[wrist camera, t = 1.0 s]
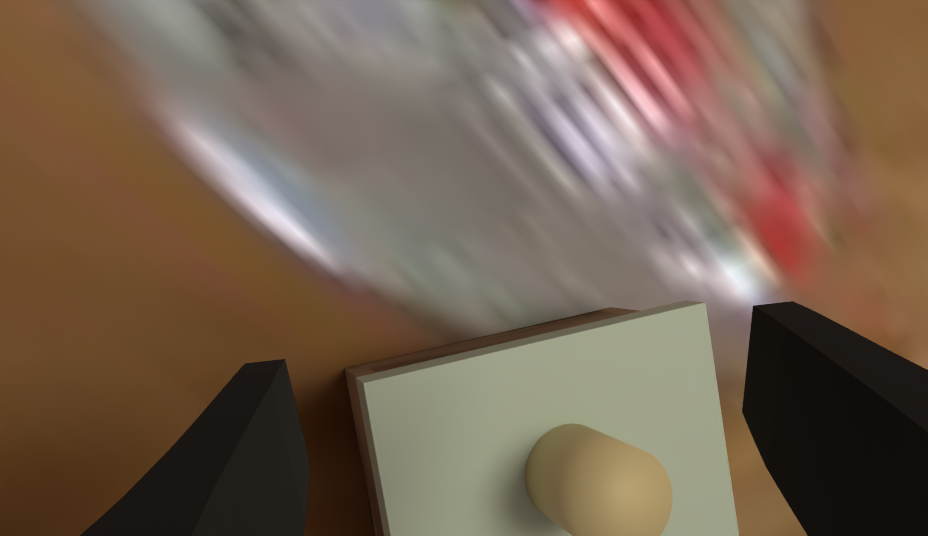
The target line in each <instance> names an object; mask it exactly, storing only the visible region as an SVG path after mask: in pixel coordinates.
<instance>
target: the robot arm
mask: <svg viewBox="0 0 928 536" xmlns="http://www.w3.org/2000/svg"><path fill="white" fill-rule="evenodd" d="M742 413H743V415H744V417H745V420H746V422H747V424H748V427H749V429H750V432H751V434H752V436H753V439H754V441H755V444H756V446H757V448H758V450H759V452H760V455H761V457H762V459H763V461H764V463H765V465H766V468H767V469H768V471H769V473H770V474H771V476H772V478H773V480H774V481H775V483H776V485H777V486H778V488H779V489H780V491H781V493H782V494H783V496H784V498H785V499H786V501H787V503H788V504H789V506H790V508H791V509H792V511H793V513H794V514H795V516H796V517H797V519H798V521H799V522H800V524H801V525H802V527H803V529H804V530H805V532H806V534H807V535H808V536H928V370H927V369H925V368H923V367H921V366H919V365H917V364H915V363H913V362H911V361H909V360H907V359H905V358H903V357H901V356H899V355H897V354H895V353H893V352H891V351H889V350H887V349H886V348H884V347H882V346H880V345H878V344H876V343H874V342H872V341H870V340H868V339H867V338H865V337H863V336H861V335H859V334H857V333H855V332H853V331H851V330H850V329H848V328H846V327H844V326H842V325H840V324H838V323H836V322H834V321H832V320H830V319H829V318H827V317H825V316H823V315H821V314H819V313H817V312H815V311H813V310H811V309H808V308H806V307H804V306H802V305H800V304H797V303H795V302H793V301H791V302H782V303H774V304H765V305H756V306H753V312H752V321H751V331H750V341H749V350H748V360H747V370H746V380H745V389H744V399H743V409H742ZM309 465H310V462H309V457H308V453H307V449H306V445H305V441H304V437H303V432H302V428H301V424H300V420H299V416H298V412H297V407H296V403H295V399H294V395H293V391H292V387H291V382H290V378H289V374H288V370H287V366H286V362H285V359H282V360H273V361H264V362H255V363H246V364H244V365H243V366H242V367H241V369H240V370H239V371H238V372H237V373H236V374H235V375H234V376H233V378H232V379H231V380H230V381H229V382H228V383H227V385H226V386H225V387H224V388H223V389H222V390H221V392H220V393H219V394H218V395H217V396H216V397H215V399H214V400H213V401H212V402H211V403H210V404H209V406H208V407H207V408H206V409H205V410H204V411H203V413H202V414H201V415H200V416H199V417H198V418H197V420H196V421H195V422H194V423H193V424H192V425H191V426H190V427H189V429H188V430H187V431H186V432H185V433H184V434H183V435H182V436H181V437H180V439H179V440H178V441H177V442H176V443H175V444H174V445H173V446H172V448H171V449H170V450H169V451H168V452H167V453H166V454H165V455H164V456H163V457H162V458H161V459H160V460H159V461H158V462H157V463H156V464H155V465H154V466H153V467H152V468H151V469H150V470H149V471H148V472H147V473H146V474H145V475H144V476H143V477H142V478H141V479H140V480H139V481H138V482H137V483H136V484H135V485H134V486H133V487H132V488H131V489H130V490H129V491H128V492H127V493H126V494H125V495H124V496H123V497H122V498H121V499H120V500H119V501H118V502H117V503H116V504H115V505H114V506H113V507H112V508H111V509H109V510H108V511H107V512H106V513H105V514H104V515H103V516H102V517H101V518H99V519H98V520H97V521H96V522H95V523H94V524H93V525H91V526H90V527H89V528H88V529H87V530H86V531H84V532H83V533H82V534H81V535H80V536H303V535H304V530H305V524H306V514H307V500H308V483H309Z"/></svg>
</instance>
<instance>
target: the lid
mask: <svg viewBox="0 0 928 536" xmlns="http://www.w3.org/2000/svg"><path fill="white" fill-rule="evenodd" d="M356 383H357V388H358V394H359V399H360V405H361V411H362V416H363V422H364V427H365V433H366V438H367V444H368V449H369V455H370V460H371V466H372V471H373V477H374V483H375V488H376V494H377V499H378V505H379V510H380V516H381V521H382V527H383V532H384V536H739V533H738V526H737V519H736V512H735V505H734V498H733V491H732V484H731V477H730V471H729V464H728V457H727V450H726V443H725V436H724V429H723V422H722V415H721V408H720V401H719V394H718V387H717V381H716V374H715V367H714V360H713V353H712V346H711V339H710V332H709V325H708V318H707V311H706V304H705V302H695V301H682V302H677V303H673V304H669V305H664V306H660V307H656V308H652V309H647V310H643V311H639V312H634V313H630V314H626V315H622V316H617V317H613V318H609V319H604V320H600V321H596V322H592V323H587V324H583V325H579V326H574V327H570V328H566V329H562V330H557V331H553V332H549V333H544V334H540V335H536V336H532V337H527V338H523V339H519V340H514V341H510V342H506V343H502V344H497V345H493V346H489V347H484V348H480V349H476V350H472V351H467V352H463V353H459V354H454V355H450V356H446V357H442V358H437V359H433V360H429V361H425V362H420V363H416V364H412V365H407V366H403V367H399V368H395V369H390V370H386V371H382V372H377V373H373V374H369V375H365V376H360V377H356Z"/></svg>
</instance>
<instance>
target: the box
mask: <svg viewBox="0 0 928 536" xmlns="http://www.w3.org/2000/svg"><path fill="white" fill-rule="evenodd" d="M634 312H639V311H637V310H629V309H621V308H612V307H611V308H607V309H602V310H598V311H594V312H589V313H585V314H581V315H576V316H572V317H567V318H563V319H559V320H554V321H550V322H546V323H541V324H537V325H532V326H528V327H524V328H519V329H515V330H510V331H506V332H502V333H497V334H493V335H489V336H484V337H480V338H475V339H471V340H467V341H462V342H458V343H454V344H449V345H445V346H440V347H436V348H432V349H427V350H423V351H418V352H414V353H410V354H405V355H401V356H397V357H392V358H388V359H383V360H379V361H375V362H370V363H366V364H362V365H357V366H353V367H348V368H345V373H346V379H347V384H348V390H349V395H350V401H351V407H352V412H353V418H354V423H355V429H356V434H357V440H358V445H359V451H360V456H361V462H362V467H363V473H364V478H365V484H366V489H367V495H368V500H369V506H370V511H371V517H372V522H373V528H374V533H375V536H384V532H383V527H382V521H381V516H380V510H379V505H378V499H377V494H376V488H375V483H374V477H373V471H372V466H371V460H370V455H369V449H368V444H367V438H366V433H365V427H364V422H363V416H362V411H361V405H360V399H359V394H358V388H357V383H356V377H360V376H365V375H369V374H373V373H377V372H382V371H386V370H390V369H395V368H399V367H403V366H407V365H412V364H416V363H420V362H425V361H429V360H433V359H437V358H442V357H446V356H450V355H454V354H459V353H463V352H467V351H472V350H476V349H480V348H484V347H489V346H493V345H497V344H502V343H506V342H510V341H514V340H519V339H523V338H527V337H532V336H536V335H540V334H544V333H549V332H553V331H557V330H562V329H566V328H570V327H574V326H579V325H583V324H587V323H592V322H596V321H600V320H604V319H609V318H613V317H617V316H622V315H626V314H630V313H634Z"/></svg>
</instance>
